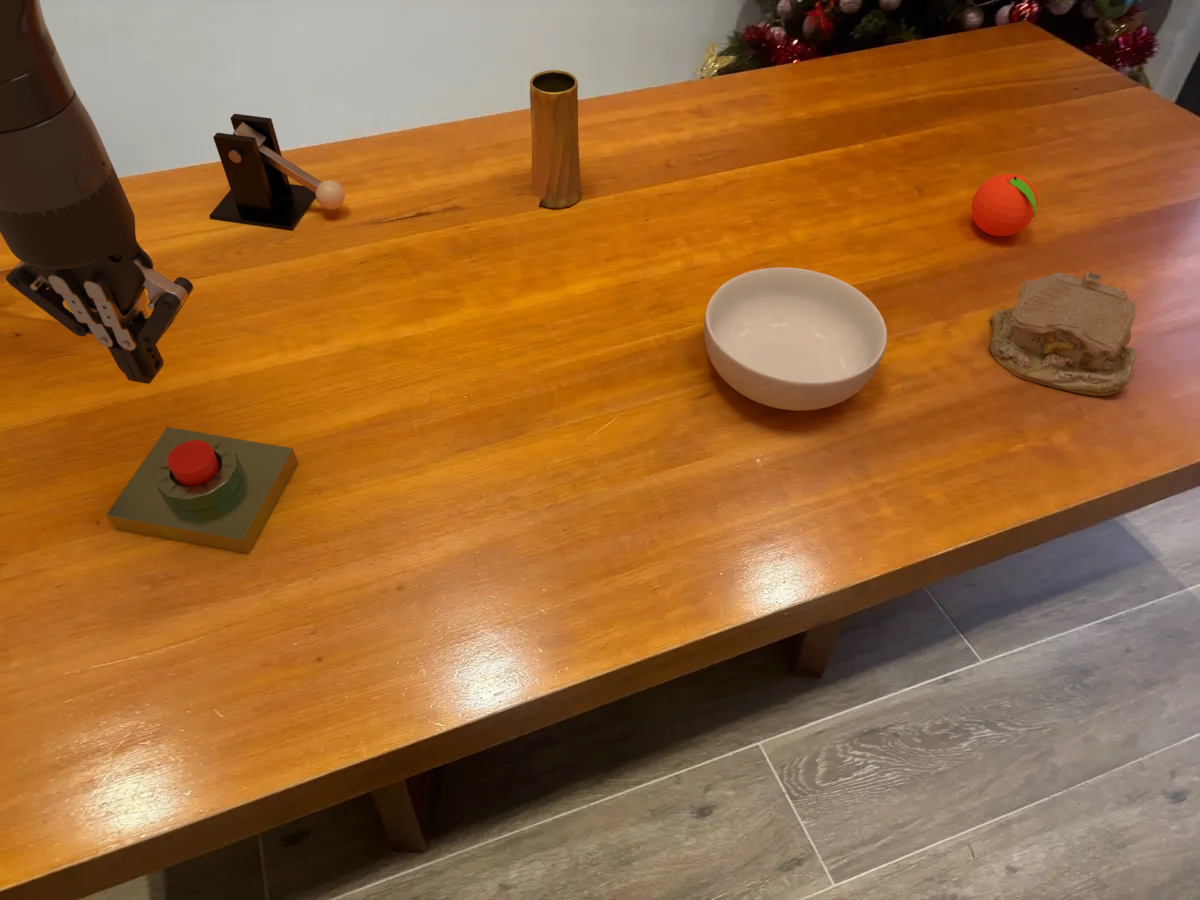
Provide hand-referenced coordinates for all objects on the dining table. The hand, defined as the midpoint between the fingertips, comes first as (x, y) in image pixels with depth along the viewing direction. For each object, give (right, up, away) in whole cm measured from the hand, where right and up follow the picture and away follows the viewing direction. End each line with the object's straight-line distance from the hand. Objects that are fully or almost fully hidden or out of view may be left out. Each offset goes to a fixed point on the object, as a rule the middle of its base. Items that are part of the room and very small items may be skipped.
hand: (146, 374), depth 68 cm
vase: (+29, +25, +41) cm, 56 cm away
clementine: (+81, +20, +38) cm, 91 cm away
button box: (0, -10, +11) cm, 14 cm away
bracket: (-5, +22, +38) cm, 44 cm away
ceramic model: (+81, +4, +25) cm, 84 cm away
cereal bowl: (+52, +2, +22) cm, 57 cm away
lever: (-1, +25, +33) cm, 42 cm away
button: (0, -7, +8) cm, 11 cm away
